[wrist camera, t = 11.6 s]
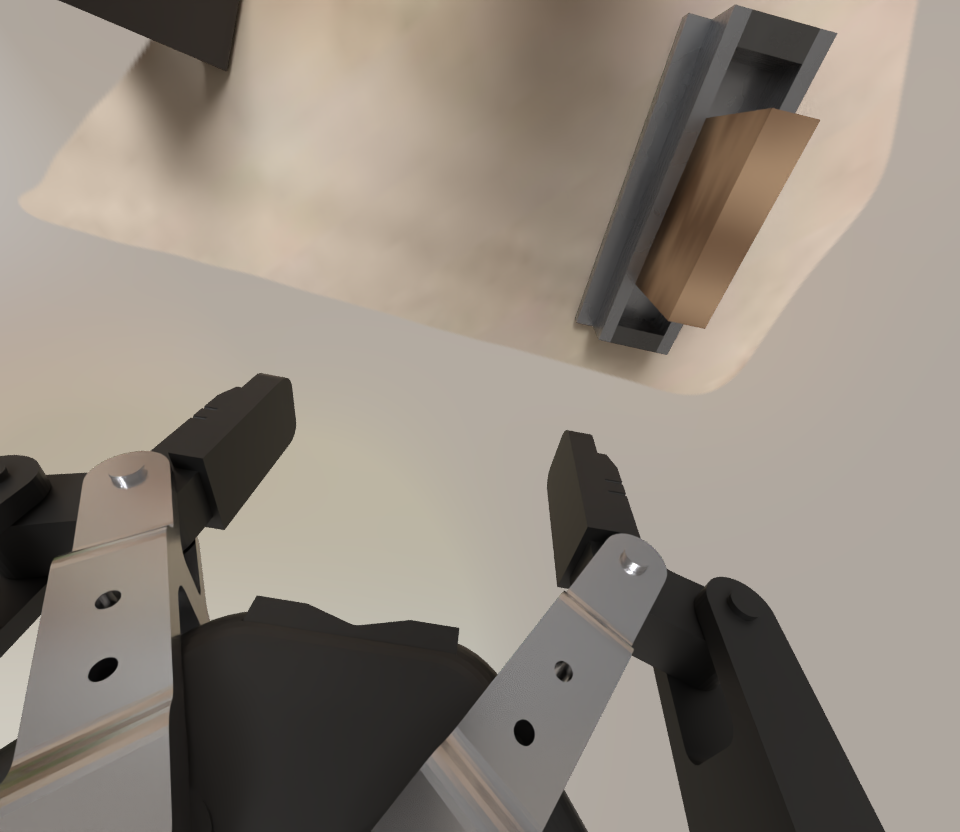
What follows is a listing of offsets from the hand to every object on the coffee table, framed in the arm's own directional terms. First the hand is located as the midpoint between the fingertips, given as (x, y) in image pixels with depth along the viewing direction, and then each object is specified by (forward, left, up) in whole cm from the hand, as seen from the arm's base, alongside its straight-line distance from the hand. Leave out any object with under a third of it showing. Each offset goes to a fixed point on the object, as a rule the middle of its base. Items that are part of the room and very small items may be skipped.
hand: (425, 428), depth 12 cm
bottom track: (-6, +14, -26) cm, 30 cm away
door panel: (-6, +14, -25) cm, 29 cm away
